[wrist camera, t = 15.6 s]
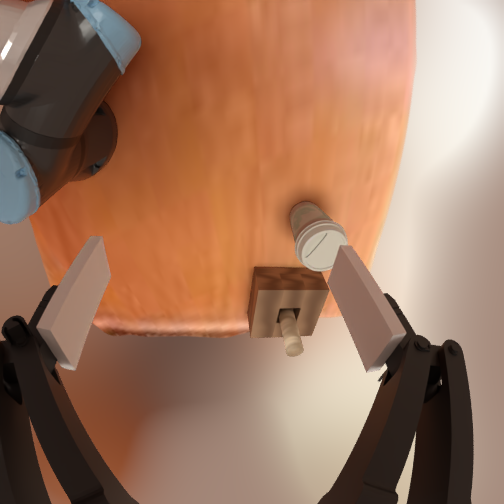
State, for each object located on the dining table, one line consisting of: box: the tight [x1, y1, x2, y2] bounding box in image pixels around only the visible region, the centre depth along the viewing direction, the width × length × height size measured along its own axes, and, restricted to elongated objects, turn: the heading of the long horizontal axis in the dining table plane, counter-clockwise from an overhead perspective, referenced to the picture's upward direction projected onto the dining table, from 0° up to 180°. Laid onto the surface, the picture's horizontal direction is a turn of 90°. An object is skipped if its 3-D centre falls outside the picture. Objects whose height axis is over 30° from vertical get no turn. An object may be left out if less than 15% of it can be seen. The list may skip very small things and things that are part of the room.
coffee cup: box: [290, 202, 348, 271], centre depth 44 cm, size 8×8×12 cm
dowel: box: [278, 308, 304, 356], centre depth 52 cm, size 3×3×14 cm
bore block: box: [248, 267, 329, 338], centre depth 57 cm, size 14×14×7 cm
